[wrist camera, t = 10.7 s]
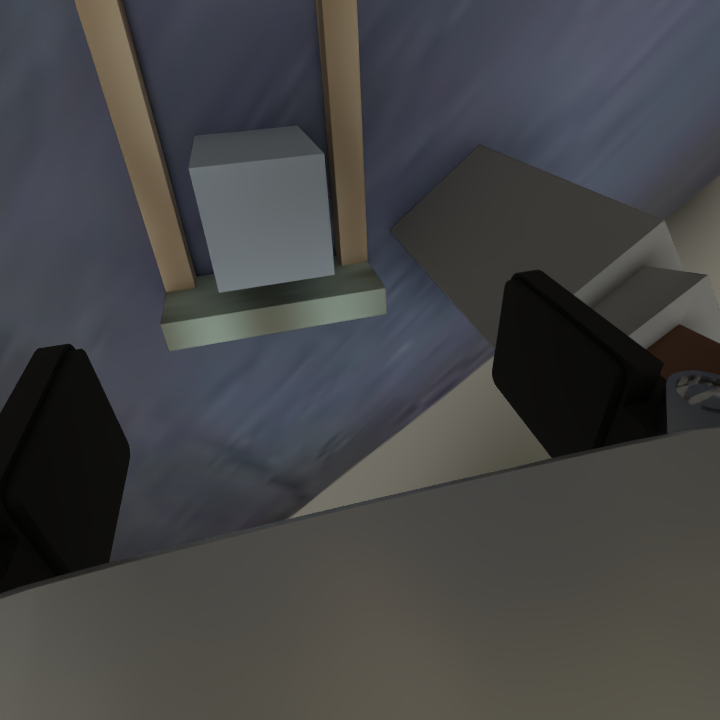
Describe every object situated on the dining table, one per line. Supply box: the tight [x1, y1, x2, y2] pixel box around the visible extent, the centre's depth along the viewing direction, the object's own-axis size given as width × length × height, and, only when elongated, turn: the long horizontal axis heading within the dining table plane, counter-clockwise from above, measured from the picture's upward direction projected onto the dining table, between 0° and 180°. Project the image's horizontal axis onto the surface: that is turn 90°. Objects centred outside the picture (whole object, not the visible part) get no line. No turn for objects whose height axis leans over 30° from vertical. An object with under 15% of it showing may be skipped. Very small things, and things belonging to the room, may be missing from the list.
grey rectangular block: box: [189, 126, 335, 293], centre depth 22 cm, size 5×5×7 cm
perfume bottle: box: [389, 145, 720, 380], centre depth 22 cm, size 7×7×18 cm
